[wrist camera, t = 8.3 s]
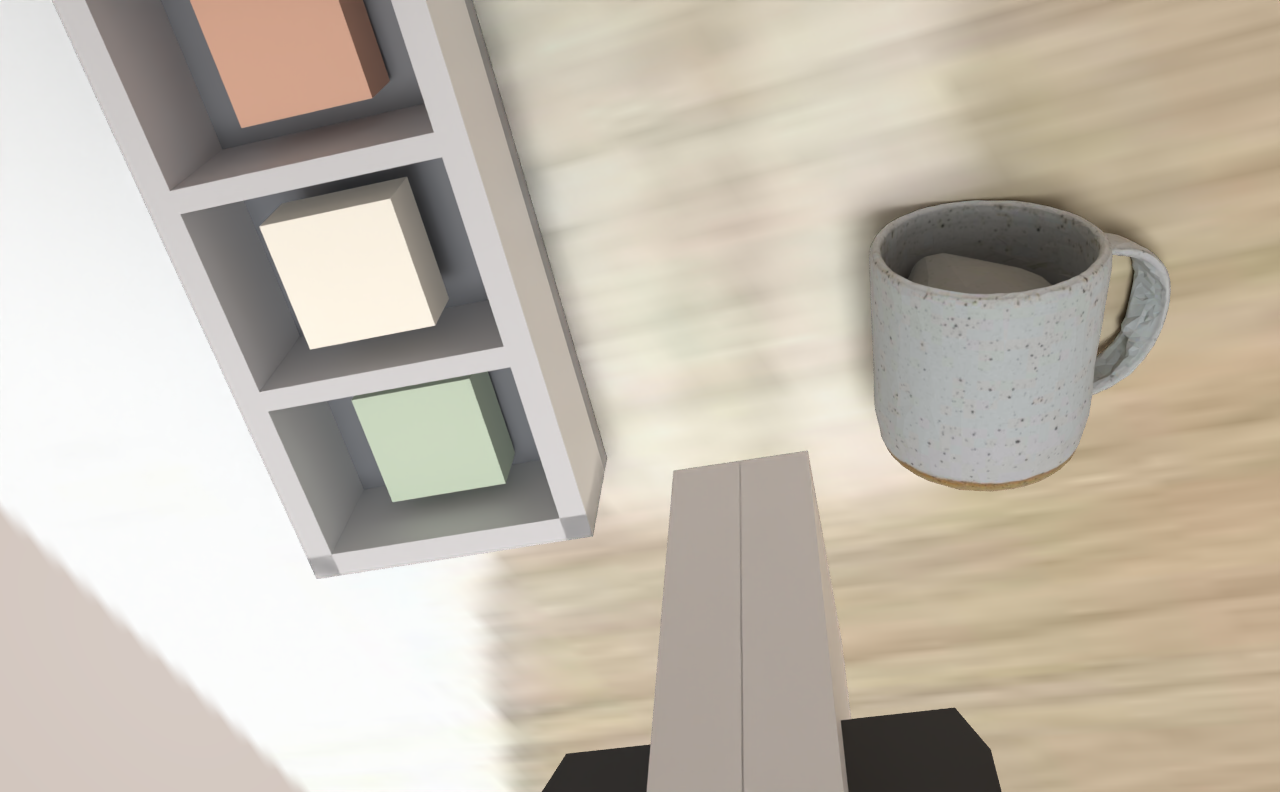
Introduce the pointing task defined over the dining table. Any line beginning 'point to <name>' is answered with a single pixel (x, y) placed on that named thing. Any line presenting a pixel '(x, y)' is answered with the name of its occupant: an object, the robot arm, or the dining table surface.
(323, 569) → the grey compartment tray
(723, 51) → the dining table surface
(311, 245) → the key cream
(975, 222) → the ceramic mug
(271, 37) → the key terracotta
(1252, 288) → the dining table surface
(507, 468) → the key sage
